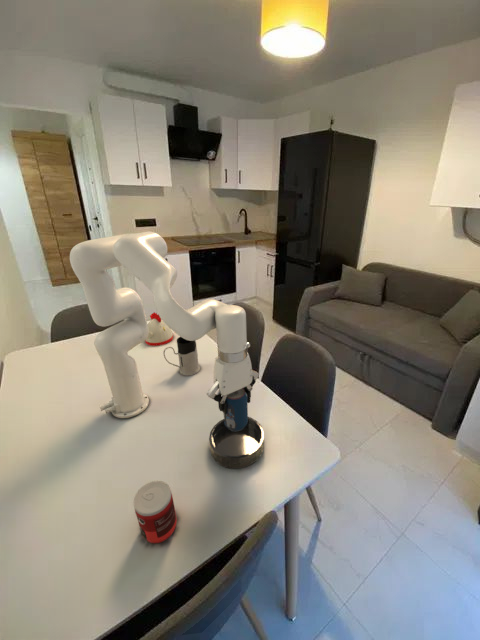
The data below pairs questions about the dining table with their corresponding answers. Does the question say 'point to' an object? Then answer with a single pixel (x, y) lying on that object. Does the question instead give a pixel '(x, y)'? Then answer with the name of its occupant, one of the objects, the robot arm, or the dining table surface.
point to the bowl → (236, 444)
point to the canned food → (155, 511)
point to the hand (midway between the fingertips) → (235, 405)
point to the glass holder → (186, 356)
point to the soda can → (236, 410)
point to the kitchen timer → (158, 331)
